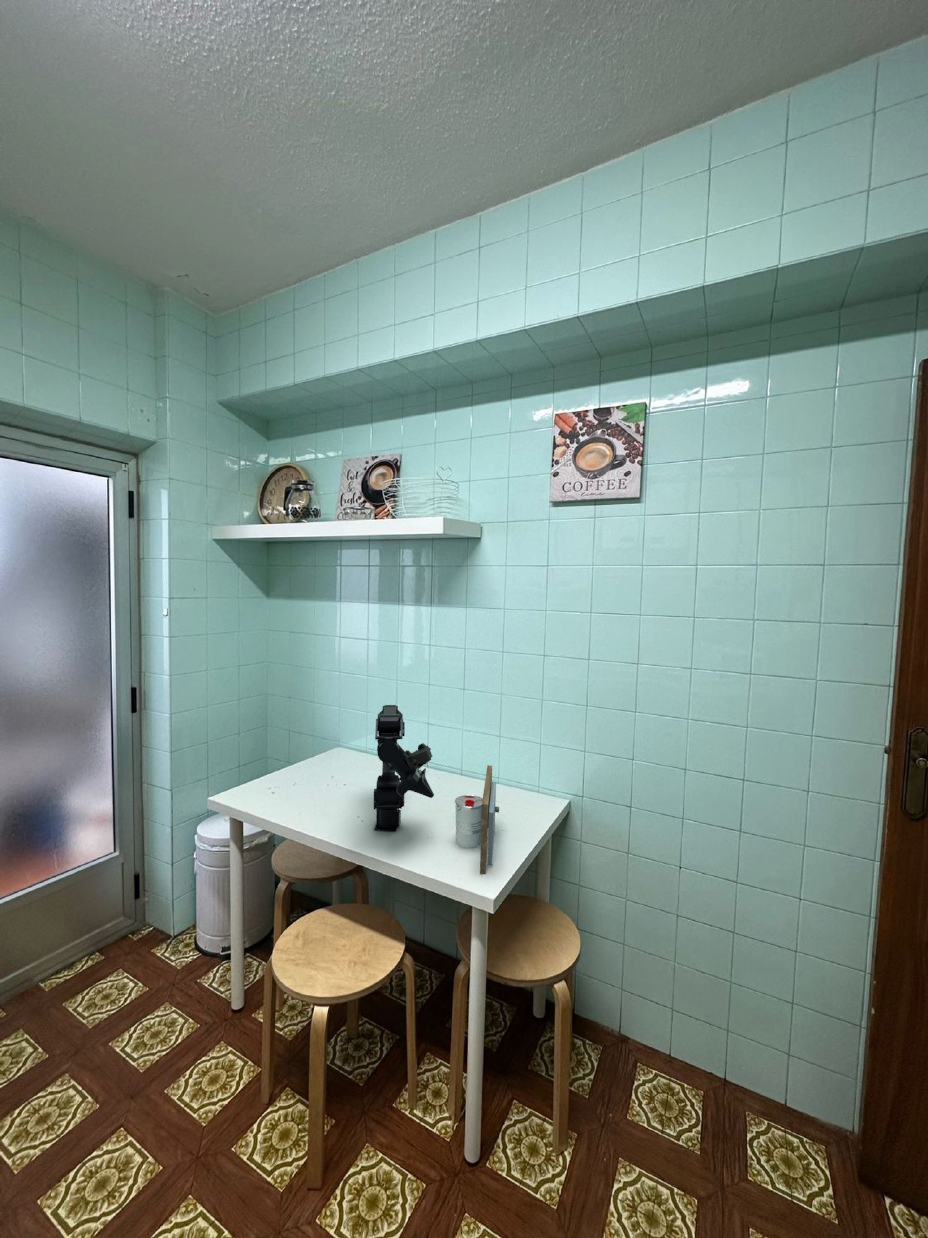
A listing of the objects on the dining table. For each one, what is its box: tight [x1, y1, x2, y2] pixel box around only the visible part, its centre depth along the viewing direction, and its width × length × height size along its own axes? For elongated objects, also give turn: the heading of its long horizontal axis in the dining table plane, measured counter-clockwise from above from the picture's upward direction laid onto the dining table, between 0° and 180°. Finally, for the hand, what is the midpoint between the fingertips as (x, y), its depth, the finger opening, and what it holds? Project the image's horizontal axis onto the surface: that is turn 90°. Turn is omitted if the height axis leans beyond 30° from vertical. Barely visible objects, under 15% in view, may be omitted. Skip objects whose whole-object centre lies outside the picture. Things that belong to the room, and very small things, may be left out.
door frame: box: [479, 764, 493, 875], centre depth 142 cm, size 2×29×18 cm, turn 175°
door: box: [487, 781, 500, 866], centre depth 142 cm, size 2×21×14 cm, turn 175°
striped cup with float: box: [454, 794, 483, 849], centre depth 144 cm, size 10×8×12 cm
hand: (432, 796), depth 145 cm, fingers closed
